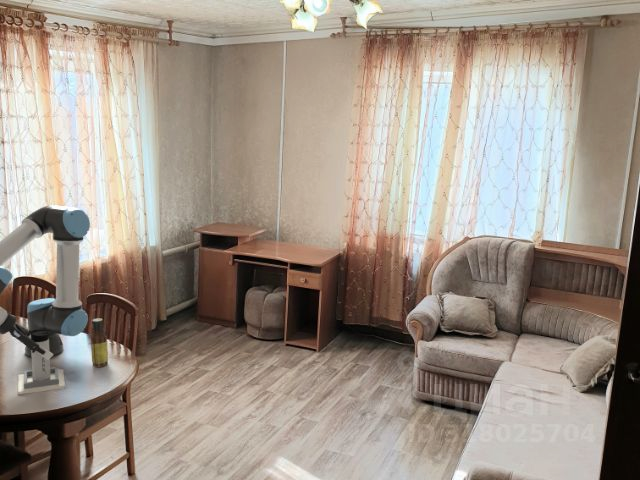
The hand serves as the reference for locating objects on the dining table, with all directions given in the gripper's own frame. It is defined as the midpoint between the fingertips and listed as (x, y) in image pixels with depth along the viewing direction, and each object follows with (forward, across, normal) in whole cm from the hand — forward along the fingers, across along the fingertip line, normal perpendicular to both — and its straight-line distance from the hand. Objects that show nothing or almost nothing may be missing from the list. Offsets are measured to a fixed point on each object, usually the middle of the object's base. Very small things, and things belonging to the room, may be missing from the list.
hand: (46, 351), depth 230 cm
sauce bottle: (+24, -5, +6) cm, 25 cm away
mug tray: (+7, 0, -10) cm, 13 cm away
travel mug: (+7, 0, -10) cm, 12 cm away
